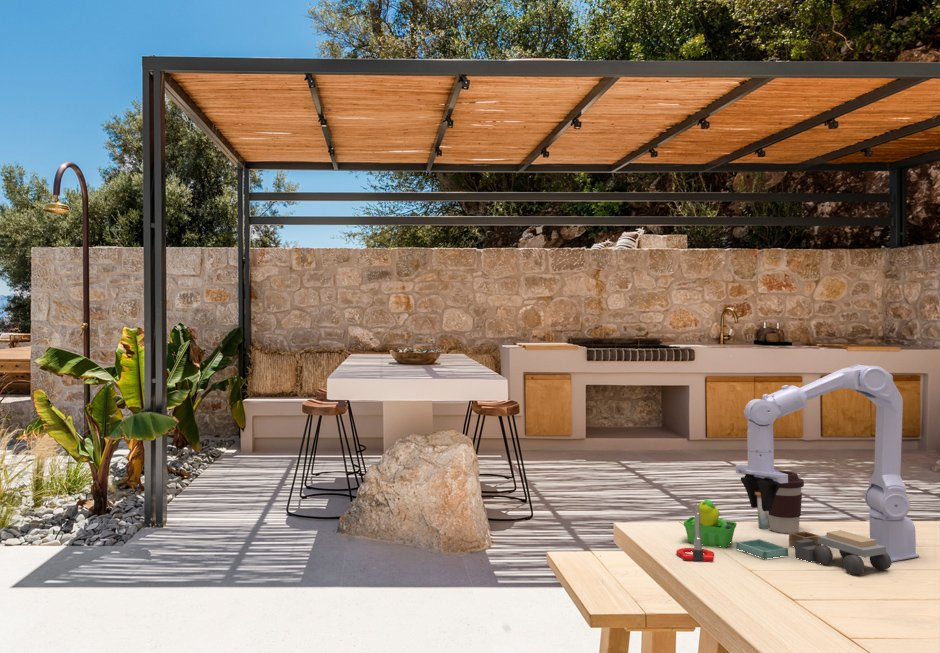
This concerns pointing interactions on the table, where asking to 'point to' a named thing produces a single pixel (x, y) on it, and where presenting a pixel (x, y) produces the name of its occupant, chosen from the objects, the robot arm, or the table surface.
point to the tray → (762, 548)
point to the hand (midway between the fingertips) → (761, 509)
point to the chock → (804, 549)
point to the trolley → (851, 551)
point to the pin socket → (803, 537)
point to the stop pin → (761, 512)
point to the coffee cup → (787, 505)
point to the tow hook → (696, 545)
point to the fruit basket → (710, 526)
